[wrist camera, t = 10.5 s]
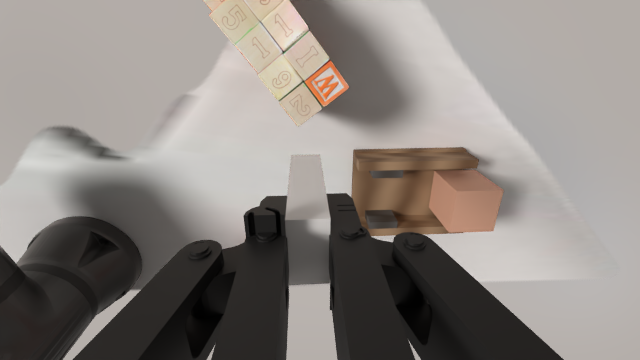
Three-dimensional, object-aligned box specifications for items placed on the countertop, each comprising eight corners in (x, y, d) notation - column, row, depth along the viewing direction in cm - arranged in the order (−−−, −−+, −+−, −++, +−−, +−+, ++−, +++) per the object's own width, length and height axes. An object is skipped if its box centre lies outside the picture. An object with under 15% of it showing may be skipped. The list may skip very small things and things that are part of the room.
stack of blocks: (177, -51, 34) (115, -100, 22) (219, -93, 32) (176, -168, 21) (299, 106, 41) (298, 129, 30) (337, 76, 40) (351, 88, 29)
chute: (350, 222, 49) (355, 238, 44) (353, 149, 44) (359, 160, 40) (449, 218, 49) (462, 234, 45) (462, 147, 45) (479, 157, 40)
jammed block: (428, 207, 47) (448, 232, 40) (434, 170, 44) (456, 191, 38) (467, 206, 47) (493, 231, 41) (474, 169, 45) (503, 190, 38)
